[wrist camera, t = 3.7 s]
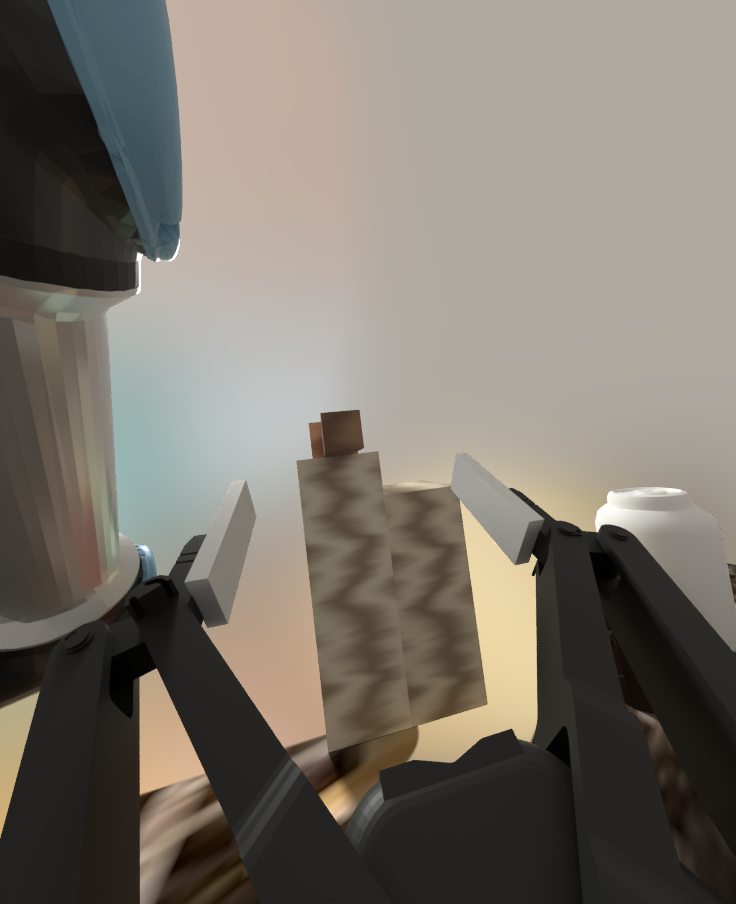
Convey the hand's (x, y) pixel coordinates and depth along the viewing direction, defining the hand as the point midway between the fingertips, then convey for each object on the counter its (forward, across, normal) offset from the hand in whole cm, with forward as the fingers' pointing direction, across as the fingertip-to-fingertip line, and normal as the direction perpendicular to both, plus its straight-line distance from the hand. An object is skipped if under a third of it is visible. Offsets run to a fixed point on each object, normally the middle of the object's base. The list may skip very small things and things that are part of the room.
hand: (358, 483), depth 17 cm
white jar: (0, +44, -32) cm, 55 cm away
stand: (+2, +4, -33) cm, 33 cm away
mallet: (+13, 0, -5) cm, 14 cm away
